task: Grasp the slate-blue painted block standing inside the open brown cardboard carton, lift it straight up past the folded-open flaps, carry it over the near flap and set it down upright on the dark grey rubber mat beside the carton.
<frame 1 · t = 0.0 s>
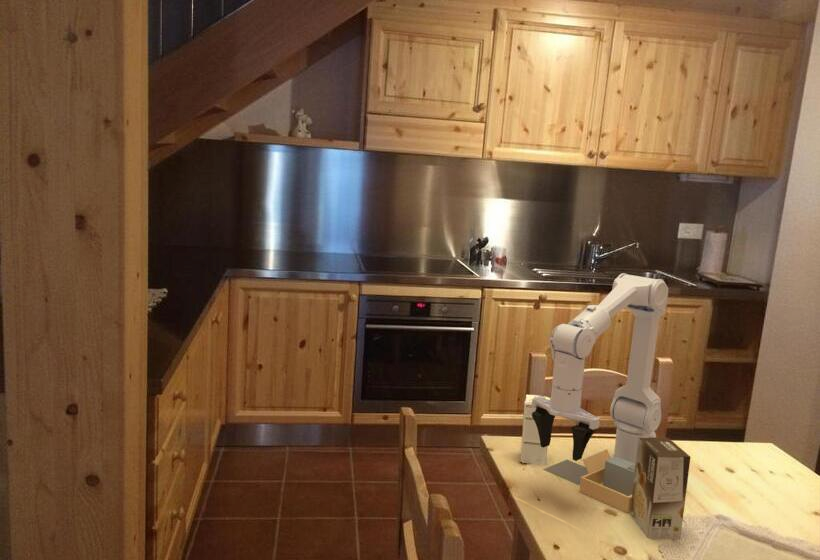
hand: (560, 452, 134), 10 cm above the table, tool pointing down, fingers open, 7 cm apart
syrup box: (532, 460, 155), on the table
block: (622, 491, 140), resting on carton
mat: (572, 473, 149), on the table
carton: (622, 493, 141), on the table
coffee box: (654, 528, 127), on the table
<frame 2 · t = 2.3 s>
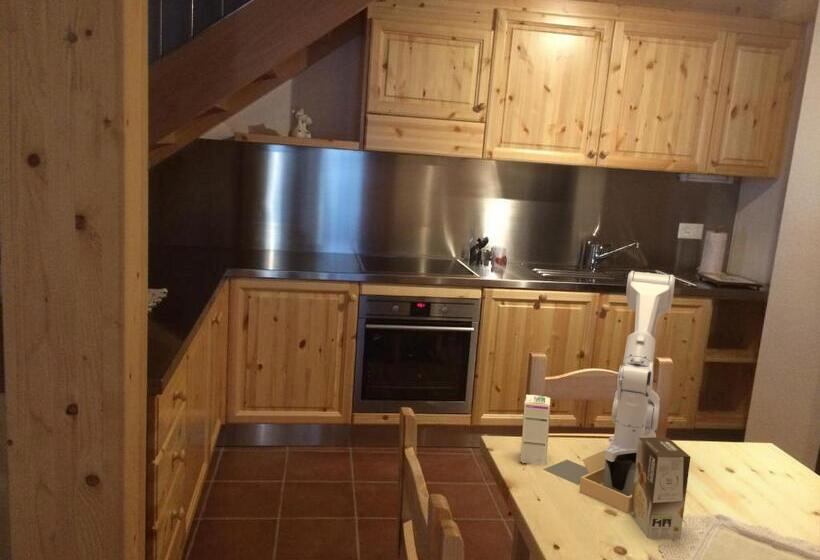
hand: (623, 485, 140), 2 cm above the table, tool pointing down, fingers closed on block, 4 cm apart
block: (622, 491, 140), resting on carton, touching gripper
everything else where it was.
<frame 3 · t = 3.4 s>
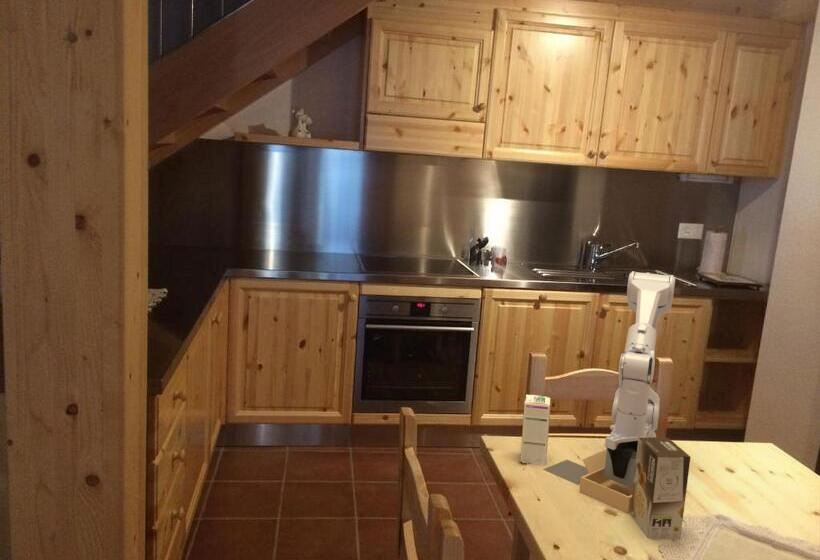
hand: (624, 473, 140), 4 cm above the table, tool pointing down, fingers closed on block, 4 cm apart
block: (624, 480, 140), point 3 cm above the table, touching gripper
everything else where it was.
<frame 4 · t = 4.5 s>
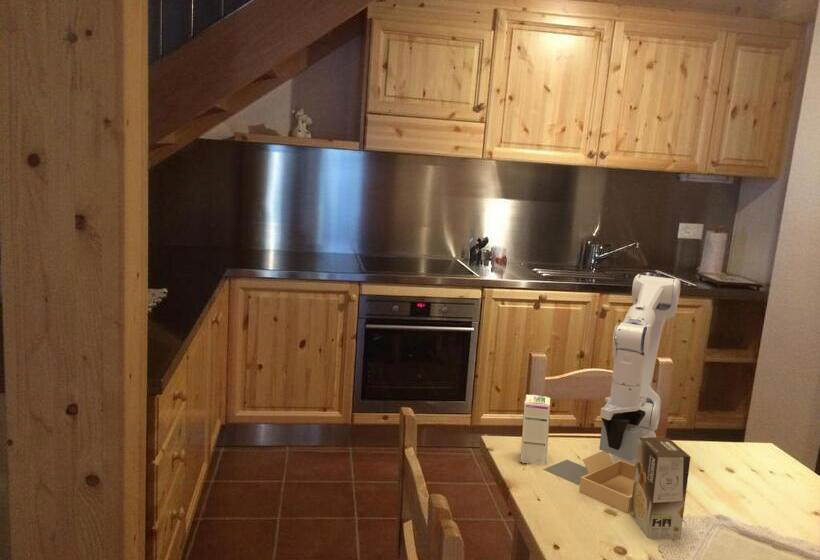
hand: (619, 445, 140), 10 cm above the table, tool pointing down, fingers closed on block, 4 cm apart
block: (619, 452, 140), point 8 cm above the table, touching gripper
everything else where it was.
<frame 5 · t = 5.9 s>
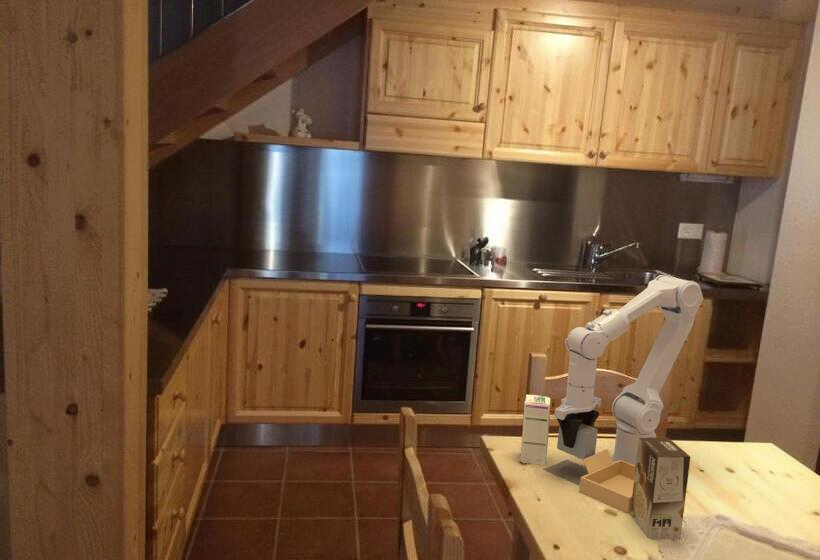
hand: (574, 444, 148), 7 cm above the table, tool pointing down, fingers closed on block, 4 cm apart
block: (575, 452, 148), point 5 cm above the table, touching gripper
everything else where it was.
when the fingers open (3 cm above the table, at t = 6.9 s): block drops 1 cm, resting on mat.
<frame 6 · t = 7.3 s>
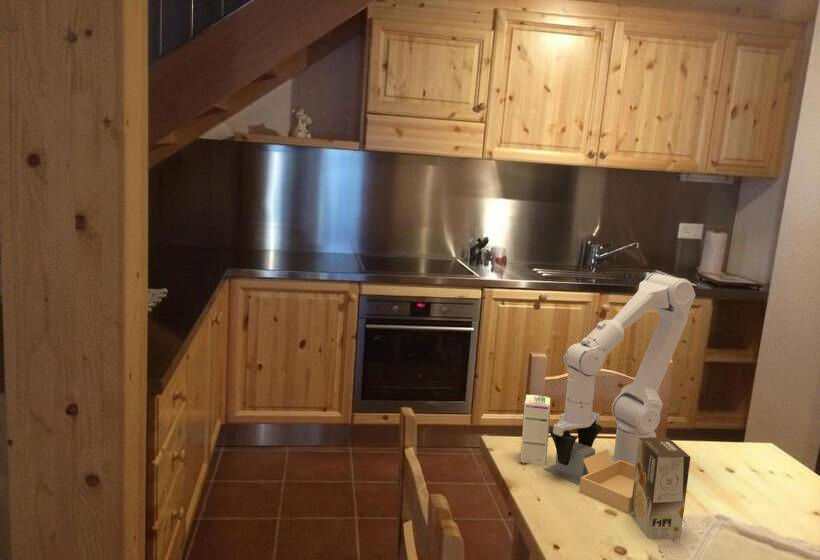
hand: (573, 459, 148), 3 cm above the table, tool pointing down, fingers open, 7 cm apart
block: (573, 472, 149), resting on mat
everything else where it was.
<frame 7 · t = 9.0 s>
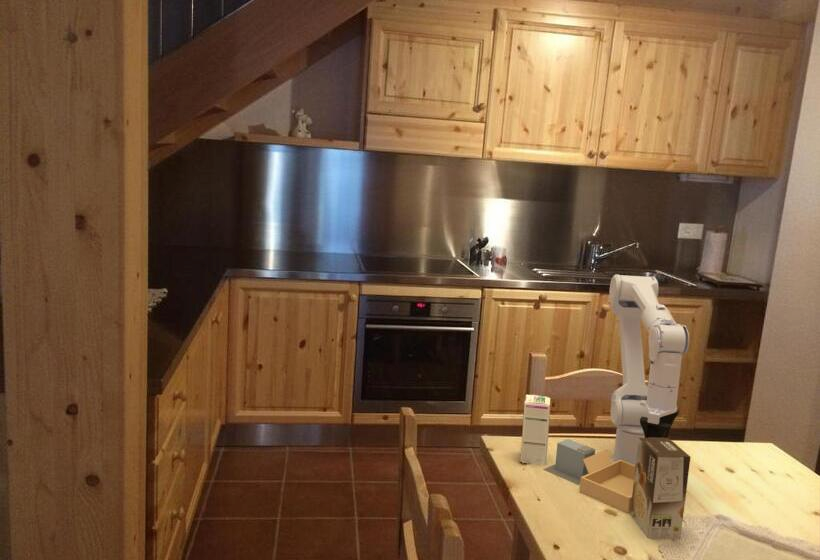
hand: (656, 448, 139), 10 cm above the table, tool pointing down, fingers open, 7 cm apart
nothing on the table moved.
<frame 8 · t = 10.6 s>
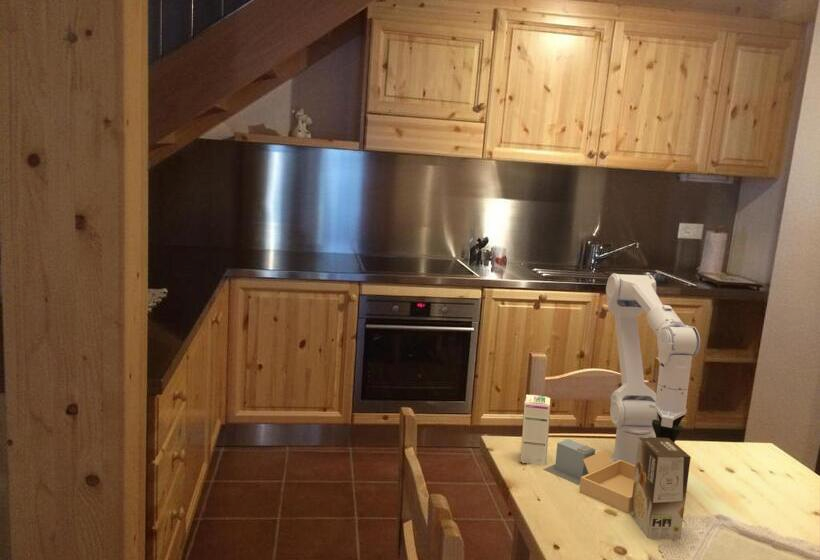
hand: (665, 450, 138), 10 cm above the table, tool pointing down, fingers open, 7 cm apart
nothing on the table moved.
at the end: block inside the target area on the mat (0.4 cm from its centre), point 0.4 cm above the mat's base; block tilted 0°; block touching mat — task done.
